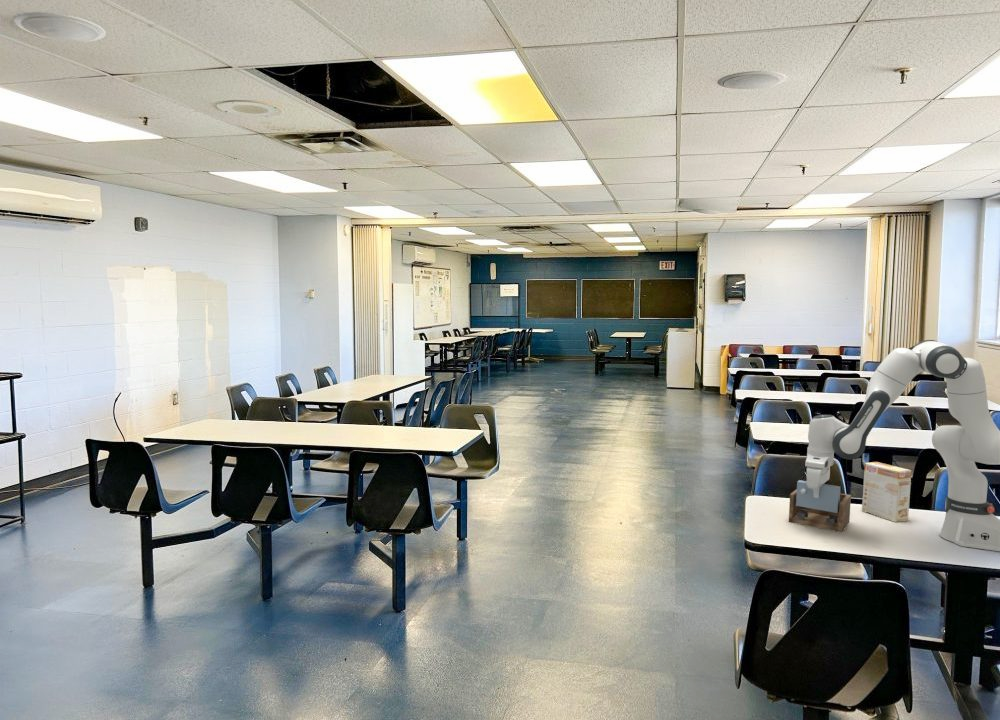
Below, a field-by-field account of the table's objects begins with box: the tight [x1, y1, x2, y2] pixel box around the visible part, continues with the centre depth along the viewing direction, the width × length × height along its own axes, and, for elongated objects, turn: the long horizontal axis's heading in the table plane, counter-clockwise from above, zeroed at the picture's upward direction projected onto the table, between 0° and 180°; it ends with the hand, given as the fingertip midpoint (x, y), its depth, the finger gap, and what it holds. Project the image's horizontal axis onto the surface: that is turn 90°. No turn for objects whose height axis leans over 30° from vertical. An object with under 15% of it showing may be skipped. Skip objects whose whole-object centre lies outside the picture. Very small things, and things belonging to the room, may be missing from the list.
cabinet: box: [788, 488, 852, 533], centre depth 253 cm, size 18×14×10 cm
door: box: [796, 479, 841, 513], centre depth 249 cm, size 14×4×9 cm, turn 53°
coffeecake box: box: [861, 461, 912, 523], centre depth 262 cm, size 15×7×20 cm, turn 22°
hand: (817, 496), depth 249 cm, fingers closed on door, 3 cm apart
